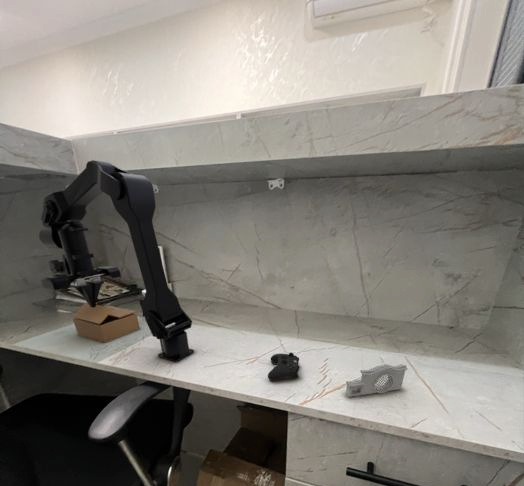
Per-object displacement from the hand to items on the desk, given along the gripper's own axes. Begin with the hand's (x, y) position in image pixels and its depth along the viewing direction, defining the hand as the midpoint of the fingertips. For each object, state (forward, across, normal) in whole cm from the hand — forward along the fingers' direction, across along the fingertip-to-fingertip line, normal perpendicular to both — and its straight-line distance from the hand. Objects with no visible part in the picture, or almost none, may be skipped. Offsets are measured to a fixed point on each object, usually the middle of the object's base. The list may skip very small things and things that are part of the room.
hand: (93, 307), depth 80 cm
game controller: (+9, -6, +58) cm, 59 cm away
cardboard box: (+9, -3, 0) cm, 9 cm away
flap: (+2, +1, 0) cm, 2 cm away
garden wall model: (+9, -7, +77) cm, 78 cm away
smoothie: (+9, -19, +3) cm, 21 cm away
